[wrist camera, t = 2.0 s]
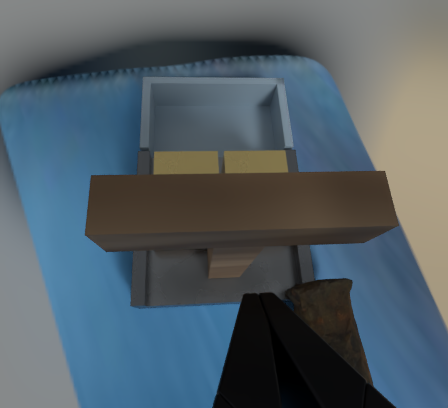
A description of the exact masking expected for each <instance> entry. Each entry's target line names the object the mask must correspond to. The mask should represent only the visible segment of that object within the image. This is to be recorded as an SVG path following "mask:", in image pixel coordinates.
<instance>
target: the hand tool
mask: <svg viewBox="0 0 448 408" xmlns="http://www.w3.org/2000/svg"><path fill="white" fill-rule="evenodd" d="M352 283H353V282H352V280H350V279H346V278H343V279H324V280H315V281H310V282H306V283H303V284H297V285H295V286H294V287H291V288H290V289H289V290H288V291H287V292H286V295H287V296H288V298H289V300H290V301H291V302H292V303H293V304H294V312H295V313H296V314H297V315H298V316H299V317H300V318H301V319H302V320H303V321H304V322H305V323H306V324H307V325H308V326H309V327H311V328H312V329H313V330H314V331H315V332H316V333H317V334H318V335H319V336H320V337H321V338H322V339H323V340H324V341H325V342H326V343H328V344H329V345H330V346H331V347H332V348H333V349H334V350H335V351H336V352H337V353H338V354H339V355H340V356H341V357H342V358H343V359H344V360H346V361H347V362H348V363H349V364H350V365H351V366H352V367H353V368H354V369H355V370H356V371H357V372H358V373H359V374H360V375H361V376H363V377H364V378H365V379H366V381H367V383H370V384H371V385H372V386H373V382H372V378H371V375H370V371H369V367H368V364H367V359H366V356H365V352H364V349H363V346H362V342H361V339H360V336H359V333H358V328H357V324H356V321H355V319H354V314H353V310H352V306H351V299H350V290H351V288H352ZM373 387H374V386H373Z"/></svg>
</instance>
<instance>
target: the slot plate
mask: <svg viewBox="0 0 448 408" xmlns="http://www.w3.org/2000/svg"><path fill="white" fill-rule="evenodd" d="M285 152H286V159H287V167H288V172H299V171H298V164H297V158H296V151H295V150H285ZM222 162H223V157H218V166H219V173H221V169H222ZM149 174H154V158H152V157H151V154H150V151H138V163H137V175H149ZM310 281H315V279H314V272H313V266H312V259H311V252H310V245H291V246H265V247H264V248H263V250H262V251H261V252H260V253H259V254H258V256H257V257H256V258H255V259H254V260H253V262H252V263H251V264H250V265H249V266H248V267H247V269H246V270H245V271H244V272H243V273H242V275H241V276H240V277H230V278H208V257H207V248H206V249H177V250H149V251H133V265H132V286H131V306H132V307H136V308H139V309H141V308H161V307H181V306H201V305H221V304H241V300H242V297H243V294H245V293H257V294H259V293H263V292H273V293H274V294H276V295H277V296H278V297H279V298H280V299H281V300H282V301H290V300H289V298H288V296H287V295H286V292H287V291H288V290H289V289H290V288H291V287H294V286H295V285H297V284H303V283H306V282H310Z"/></svg>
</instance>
